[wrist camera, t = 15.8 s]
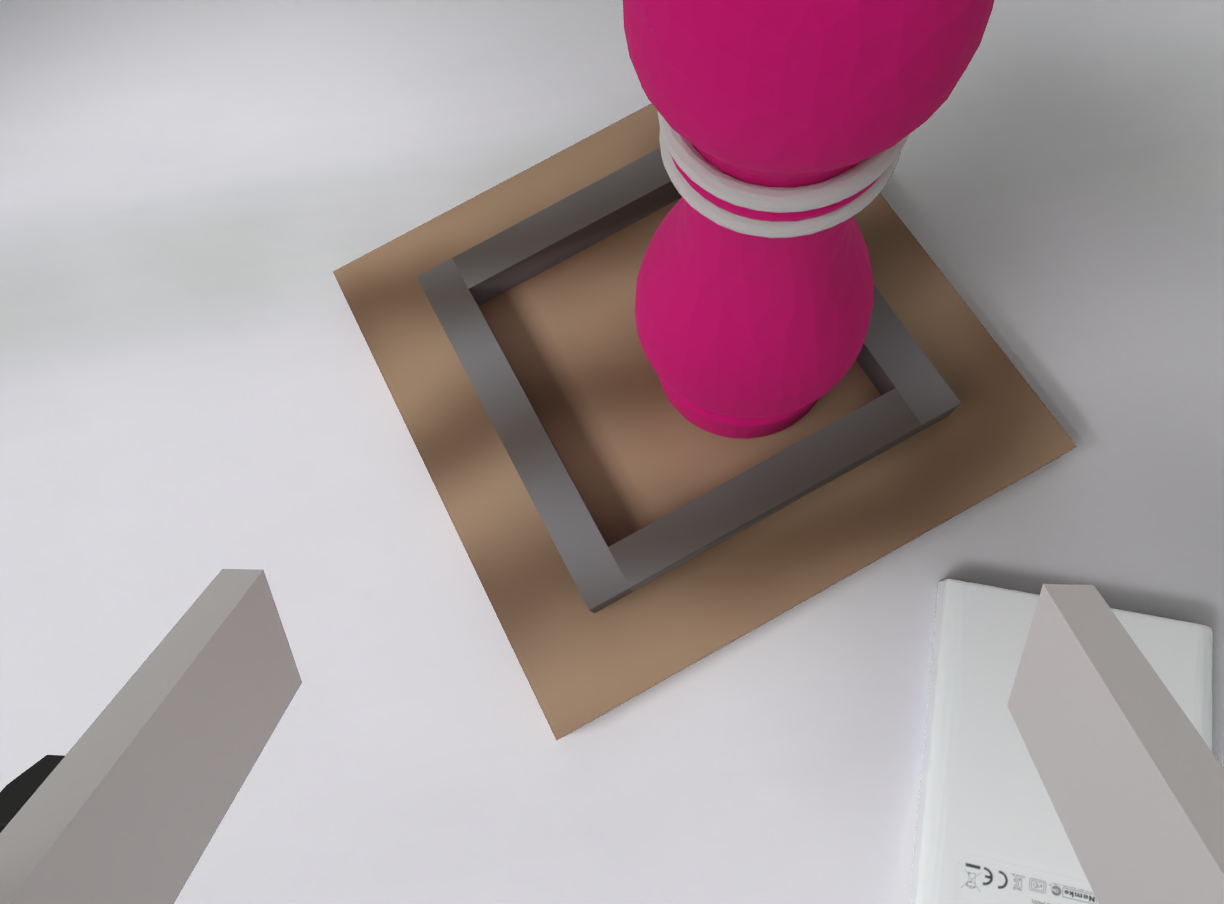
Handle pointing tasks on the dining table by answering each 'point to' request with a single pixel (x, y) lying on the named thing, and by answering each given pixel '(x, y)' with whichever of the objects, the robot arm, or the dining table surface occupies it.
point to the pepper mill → (777, 186)
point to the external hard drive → (1012, 751)
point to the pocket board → (663, 427)
